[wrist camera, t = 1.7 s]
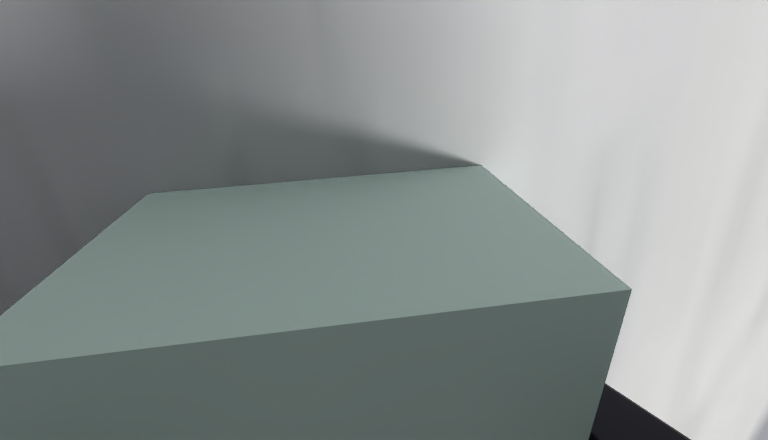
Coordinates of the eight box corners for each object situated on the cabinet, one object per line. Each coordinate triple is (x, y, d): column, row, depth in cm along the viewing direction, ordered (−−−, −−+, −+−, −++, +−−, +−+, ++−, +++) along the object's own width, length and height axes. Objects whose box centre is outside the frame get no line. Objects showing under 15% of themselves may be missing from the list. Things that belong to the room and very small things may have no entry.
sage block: (464, 415, 10) (537, 619, 7) (235, 448, 10) (177, 691, 6) (480, 165, 7) (631, 289, 4) (148, 193, 7) (-71, 374, 3)
